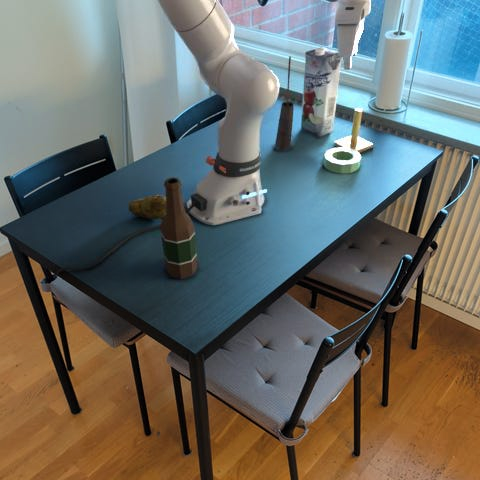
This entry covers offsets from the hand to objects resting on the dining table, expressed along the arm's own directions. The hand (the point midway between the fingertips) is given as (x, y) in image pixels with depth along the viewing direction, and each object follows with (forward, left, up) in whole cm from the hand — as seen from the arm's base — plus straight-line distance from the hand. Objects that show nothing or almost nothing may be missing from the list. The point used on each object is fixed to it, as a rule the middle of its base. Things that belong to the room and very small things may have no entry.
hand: (350, 61), depth 145 cm
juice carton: (+11, +22, -31) cm, 39 cm away
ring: (+1, -1, -31) cm, 30 cm away
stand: (+13, +6, -31) cm, 34 cm away
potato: (-62, +7, -31) cm, 70 cm away
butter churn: (-7, +18, -31) cm, 36 cm away
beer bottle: (-67, -17, -31) cm, 76 cm away
